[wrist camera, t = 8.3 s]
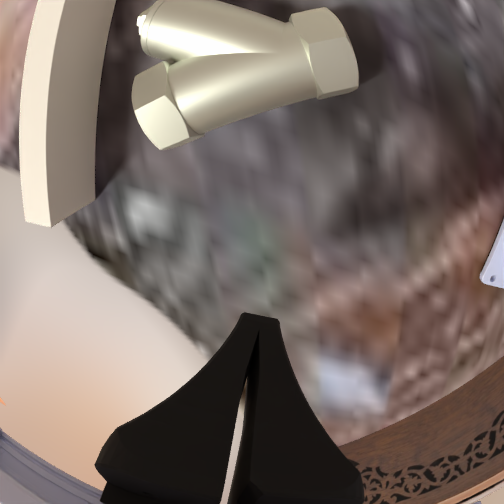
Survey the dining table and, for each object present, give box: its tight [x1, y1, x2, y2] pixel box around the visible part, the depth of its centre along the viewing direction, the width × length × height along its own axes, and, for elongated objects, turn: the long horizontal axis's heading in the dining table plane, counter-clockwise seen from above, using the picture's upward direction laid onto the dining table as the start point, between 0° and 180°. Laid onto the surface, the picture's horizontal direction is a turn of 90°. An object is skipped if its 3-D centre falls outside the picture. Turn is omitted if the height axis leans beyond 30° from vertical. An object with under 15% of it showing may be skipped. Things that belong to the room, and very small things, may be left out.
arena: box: [19, 0, 116, 227], centre depth 8 cm, size 22×21×4 cm
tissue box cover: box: [338, 356, 504, 504], centre depth 17 cm, size 26×14×10 cm, turn 134°
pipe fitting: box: [132, 0, 359, 150], centre depth 9 cm, size 8×4×7 cm
